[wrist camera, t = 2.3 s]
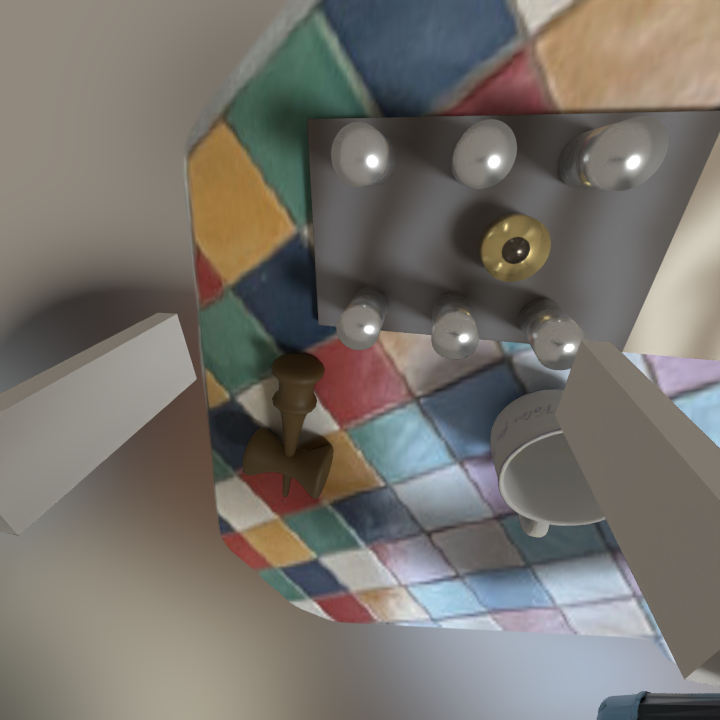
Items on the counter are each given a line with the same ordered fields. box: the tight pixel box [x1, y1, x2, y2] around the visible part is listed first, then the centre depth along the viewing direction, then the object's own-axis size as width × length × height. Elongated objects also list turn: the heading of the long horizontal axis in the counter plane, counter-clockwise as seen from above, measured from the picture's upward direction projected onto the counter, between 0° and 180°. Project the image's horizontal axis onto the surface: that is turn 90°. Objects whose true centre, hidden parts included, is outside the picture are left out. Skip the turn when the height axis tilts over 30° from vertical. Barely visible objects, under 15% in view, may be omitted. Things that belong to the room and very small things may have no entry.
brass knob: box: [479, 213, 551, 282], centre depth 24 cm, size 4×4×2 cm
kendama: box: [242, 353, 333, 499], centre depth 37 cm, size 6×10×20 cm
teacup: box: [490, 389, 605, 537], centre depth 30 cm, size 14×11×8 cm
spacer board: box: [307, 111, 720, 361], centre depth 25 cm, size 38×16×1 cm, turn 90°
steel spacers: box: [331, 116, 669, 370], centre depth 23 cm, size 17×14×6 cm
